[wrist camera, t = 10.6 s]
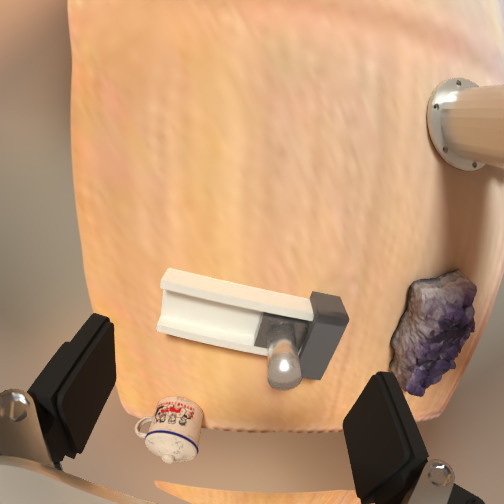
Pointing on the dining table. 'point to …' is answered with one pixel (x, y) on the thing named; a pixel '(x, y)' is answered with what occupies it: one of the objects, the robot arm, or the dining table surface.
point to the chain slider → (282, 347)
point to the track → (248, 316)
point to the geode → (432, 330)
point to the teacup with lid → (173, 429)
